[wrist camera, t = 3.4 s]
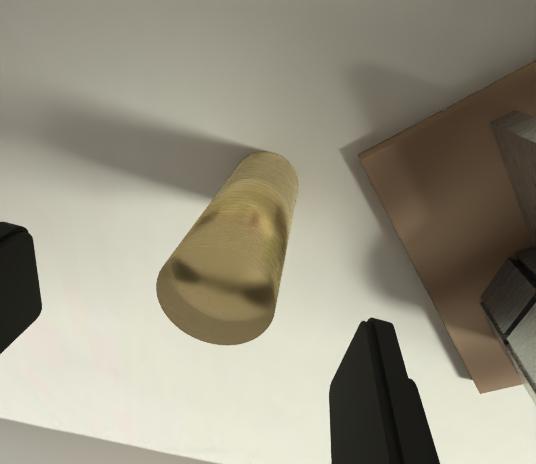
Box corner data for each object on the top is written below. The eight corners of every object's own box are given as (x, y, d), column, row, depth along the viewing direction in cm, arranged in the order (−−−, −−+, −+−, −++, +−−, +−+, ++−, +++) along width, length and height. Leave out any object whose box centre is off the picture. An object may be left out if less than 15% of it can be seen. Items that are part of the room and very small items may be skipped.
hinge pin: (310, 195, 19) (297, 323, 10) (256, 223, 20) (203, 357, 11) (276, 138, 18) (228, 227, 9) (221, 172, 19) (132, 277, 10)
